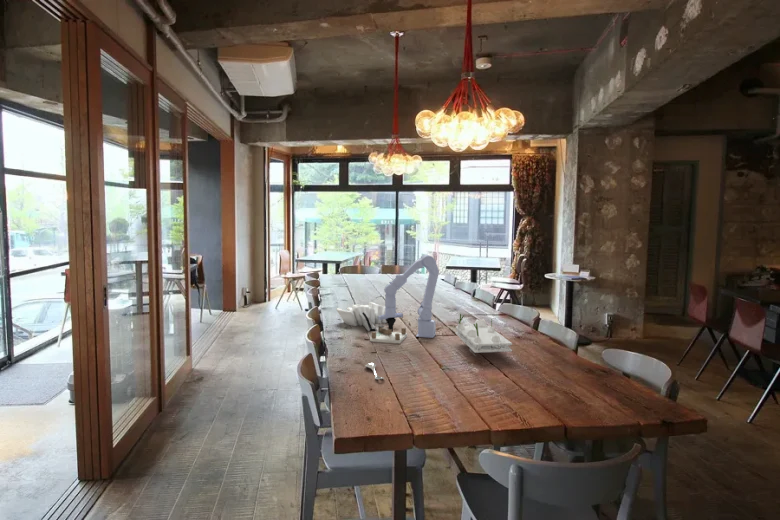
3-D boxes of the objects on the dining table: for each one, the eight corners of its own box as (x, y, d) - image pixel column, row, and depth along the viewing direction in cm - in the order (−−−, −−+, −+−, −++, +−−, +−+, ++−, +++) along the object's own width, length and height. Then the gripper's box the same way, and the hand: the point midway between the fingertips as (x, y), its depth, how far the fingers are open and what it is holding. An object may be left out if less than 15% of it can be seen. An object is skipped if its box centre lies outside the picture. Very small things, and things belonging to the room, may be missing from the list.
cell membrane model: (512, 361, 210) (513, 324, 209) (466, 363, 208) (466, 325, 206) (487, 341, 245) (488, 309, 243) (447, 342, 242) (448, 310, 241)
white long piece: (387, 372, 184) (375, 373, 183) (387, 381, 185) (375, 382, 183) (374, 360, 204) (363, 361, 202) (374, 369, 204) (363, 370, 202)
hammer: (377, 331, 258) (377, 326, 258) (381, 330, 260) (381, 325, 259) (387, 334, 250) (387, 329, 250) (392, 334, 252) (392, 328, 252)
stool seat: (407, 335, 255) (407, 327, 255) (399, 343, 240) (399, 334, 240) (379, 333, 260) (379, 325, 259) (370, 341, 244) (369, 332, 244)
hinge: (376, 330, 267) (371, 314, 265) (369, 333, 266) (363, 317, 264) (370, 323, 283) (365, 308, 281) (363, 326, 282) (357, 311, 280)
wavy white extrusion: (342, 327, 276) (342, 309, 275) (334, 321, 291) (334, 305, 290) (397, 322, 289) (397, 305, 288) (387, 317, 304) (387, 301, 303)
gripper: (398, 304, 259) (398, 328, 260) (375, 306, 252) (375, 331, 253) (404, 306, 253) (405, 330, 254) (381, 309, 246) (381, 334, 247)
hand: (390, 331), depth 253 cm, fingers closed, pressing on hammer
